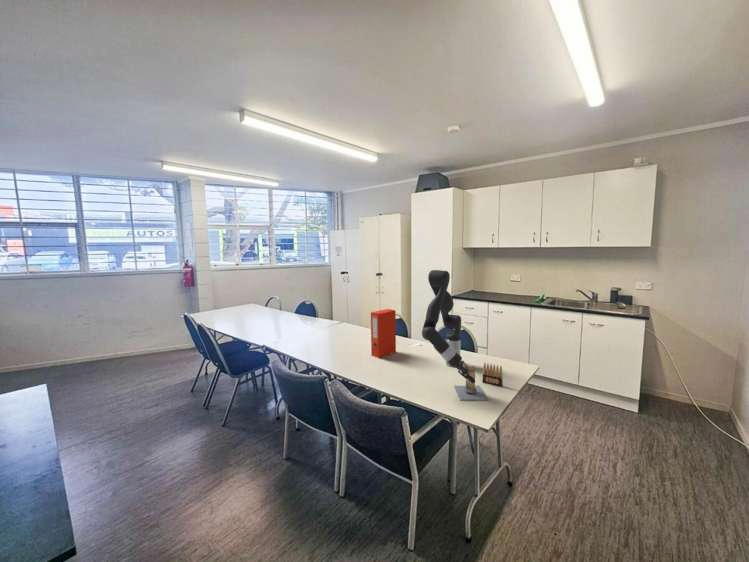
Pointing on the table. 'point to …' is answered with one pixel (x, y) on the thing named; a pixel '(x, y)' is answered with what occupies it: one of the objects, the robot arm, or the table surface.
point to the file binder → (383, 332)
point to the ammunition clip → (492, 375)
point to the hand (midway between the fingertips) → (474, 380)
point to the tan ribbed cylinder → (469, 386)
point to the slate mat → (471, 394)
